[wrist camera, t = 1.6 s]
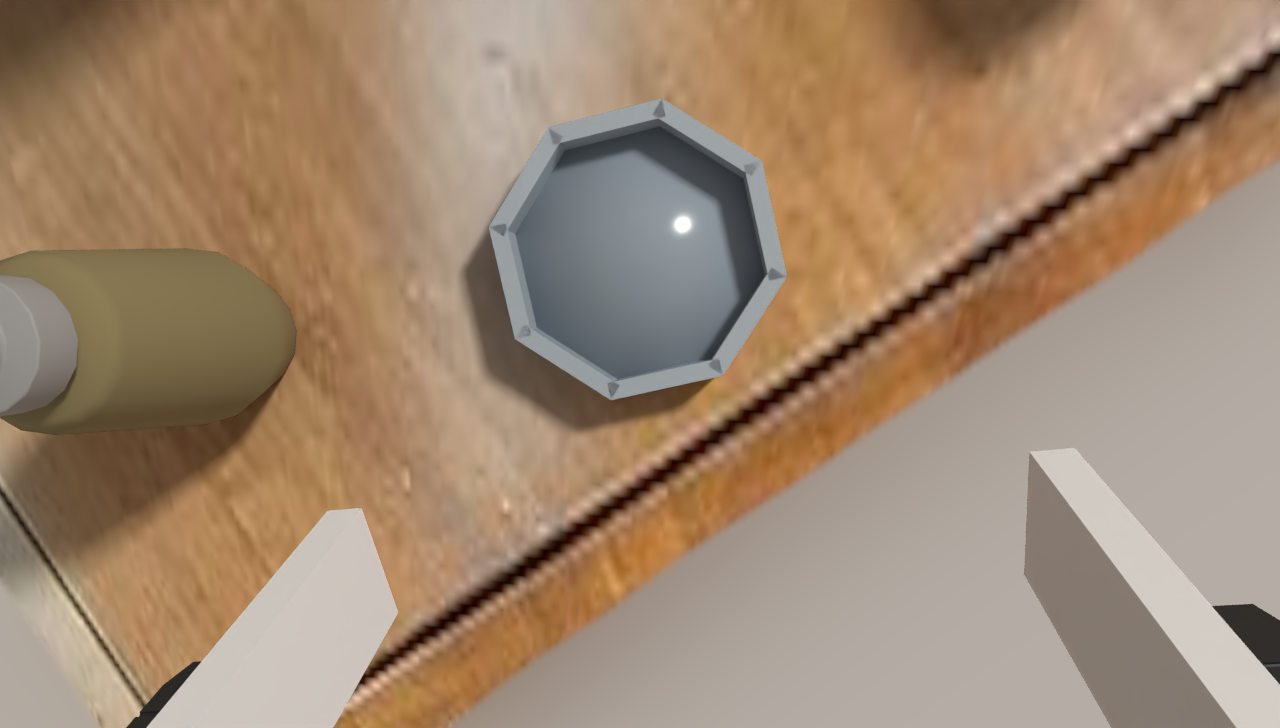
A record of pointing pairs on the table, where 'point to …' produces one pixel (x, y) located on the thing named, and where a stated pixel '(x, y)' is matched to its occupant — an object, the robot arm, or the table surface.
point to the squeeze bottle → (135, 339)
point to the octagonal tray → (637, 249)
